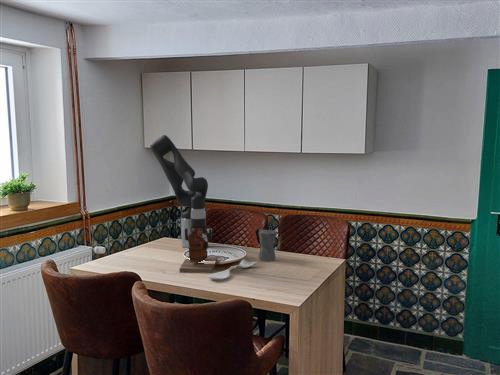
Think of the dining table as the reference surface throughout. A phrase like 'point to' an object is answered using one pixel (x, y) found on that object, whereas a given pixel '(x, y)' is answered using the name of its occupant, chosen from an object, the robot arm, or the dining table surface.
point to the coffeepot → (266, 244)
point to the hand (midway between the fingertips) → (198, 248)
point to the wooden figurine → (197, 245)
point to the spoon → (226, 273)
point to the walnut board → (198, 266)
